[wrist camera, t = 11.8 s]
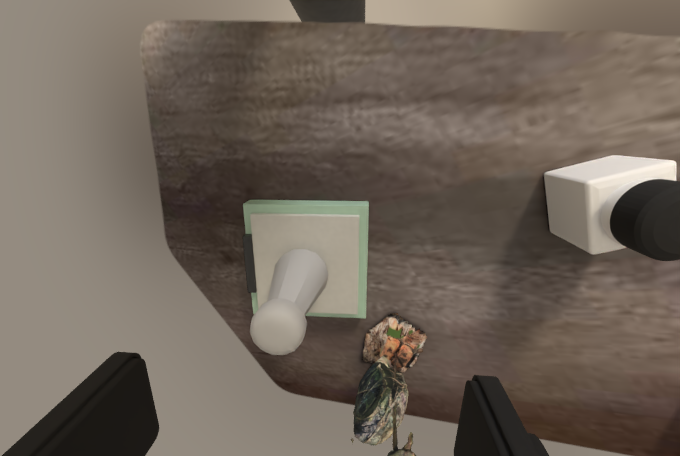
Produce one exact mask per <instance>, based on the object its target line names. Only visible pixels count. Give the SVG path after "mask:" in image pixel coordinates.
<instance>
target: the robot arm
mask: <svg viewBox="0 0 680 456" xmlns="http://www.w3.org/2000/svg"><path fill="white" fill-rule="evenodd" d="M158 432H159V423H158V419H157V414H156V410H155V405H154V401H153V396H152V391H151V387H150V382H149V378H148V373H147V368H146V364H145V361H144V360H143V359H141V356H140V355H139V354H137V353H126V352H117V353H114V354H113V355H111V356H110V357H109V358H108V359H107V360H106V361H105V362H104V363H103V364H101V365H100V366H99V367H98V368H97V369H96V370H95V371H94V372H93V373H92V374H91V375H89V376H88V377H87V379H85V380H84V381H83V382H82V383H81V384H80V385H79V386H77V387H76V388H75V389H74V390H73V391H72V392H71V393H70V394H69V395H68V396H67V397H66V398H64V399H63V400H62V401H61V402H60V403H59V404H58V405H57V406H56V407H55V408H53V409H52V410H51V411H50V412H49V413H48V414H47V415H46V416H45V417H44V418H42V419H41V420H40V421H39V422H38V423H37V424H36V425H35V426H34V427H33V428H32V429H30V430H29V431H28V432H27V433H26V434H25V435H24V436H23V437H22V438H21V439H20V440H19V441H17V442H16V443H15V444H14V445H13V446H12V447H11V448H10V449H9V450H8V451H6V452H5V453H4V454H3V455H2V456H145V455H146V453H147V452H148V450H149V449H150V447H151V446H152V444H153V443H154V441H155V439H156V437H157V435H158ZM454 456H549V455H548V453H547V451H546V449H545V448H544V446H543V444H542V443H541V441H540V440H539V438H538V437H537V436H535V435H534V434H531V433H527V432H526V430H525V428H524V426H523V424H522V422H521V420H520V418H519V416H518V415H517V413H516V411H515V409H514V407H513V405H512V403H511V401H510V400H509V398H508V396H507V394H506V392H505V390H504V388H503V386H502V384H501V383H500V381H499V379H498V378H497V377H494V376H479V375H474V376H473V379H472V381H467V382H466V385H465V391H464V396H463V402H462V408H461V413H460V419H459V424H458V430H457V436H456V441H455V447H454Z"/></svg>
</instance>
